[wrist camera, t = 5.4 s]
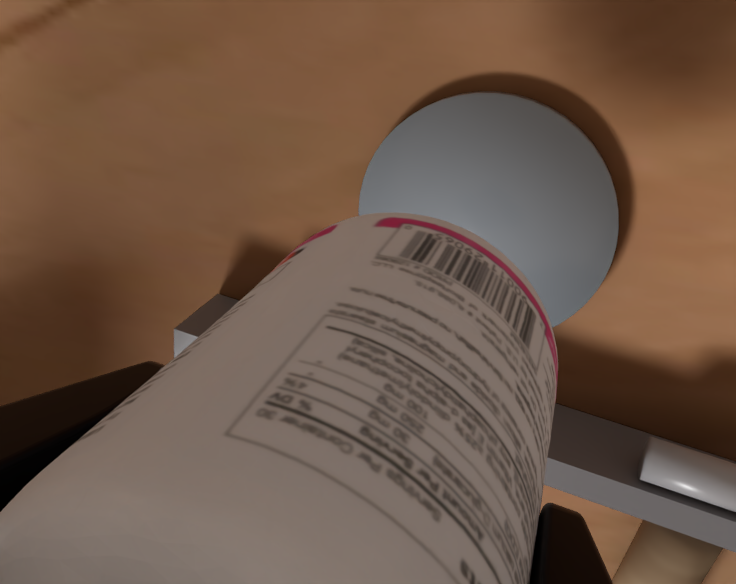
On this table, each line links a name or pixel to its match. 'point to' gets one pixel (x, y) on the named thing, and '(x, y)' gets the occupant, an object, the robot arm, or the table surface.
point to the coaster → (506, 188)
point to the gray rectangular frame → (606, 463)
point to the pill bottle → (320, 431)
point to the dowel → (665, 558)
